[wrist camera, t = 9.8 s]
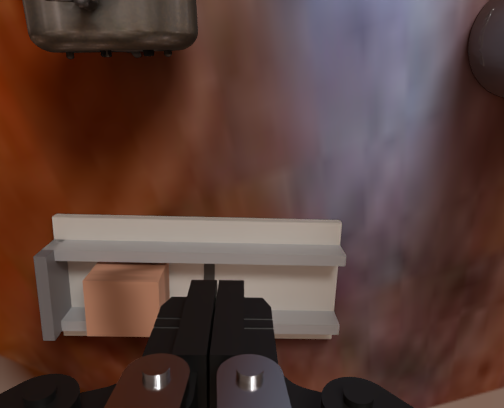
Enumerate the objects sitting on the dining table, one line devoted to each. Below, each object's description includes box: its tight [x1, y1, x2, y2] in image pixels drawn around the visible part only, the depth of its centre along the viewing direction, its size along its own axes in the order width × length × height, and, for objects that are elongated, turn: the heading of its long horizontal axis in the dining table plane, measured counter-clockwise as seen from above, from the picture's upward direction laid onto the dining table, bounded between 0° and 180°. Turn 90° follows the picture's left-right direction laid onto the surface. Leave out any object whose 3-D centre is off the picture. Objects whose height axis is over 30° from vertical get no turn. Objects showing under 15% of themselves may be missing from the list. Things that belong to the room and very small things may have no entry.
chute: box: [34, 214, 346, 341], centre depth 39 cm, size 26×12×5 cm, turn 88°
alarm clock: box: [23, 0, 198, 59], centre depth 27 cm, size 11×5×16 cm, turn 91°
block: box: [83, 262, 170, 337], centre depth 37 cm, size 6×5×5 cm
